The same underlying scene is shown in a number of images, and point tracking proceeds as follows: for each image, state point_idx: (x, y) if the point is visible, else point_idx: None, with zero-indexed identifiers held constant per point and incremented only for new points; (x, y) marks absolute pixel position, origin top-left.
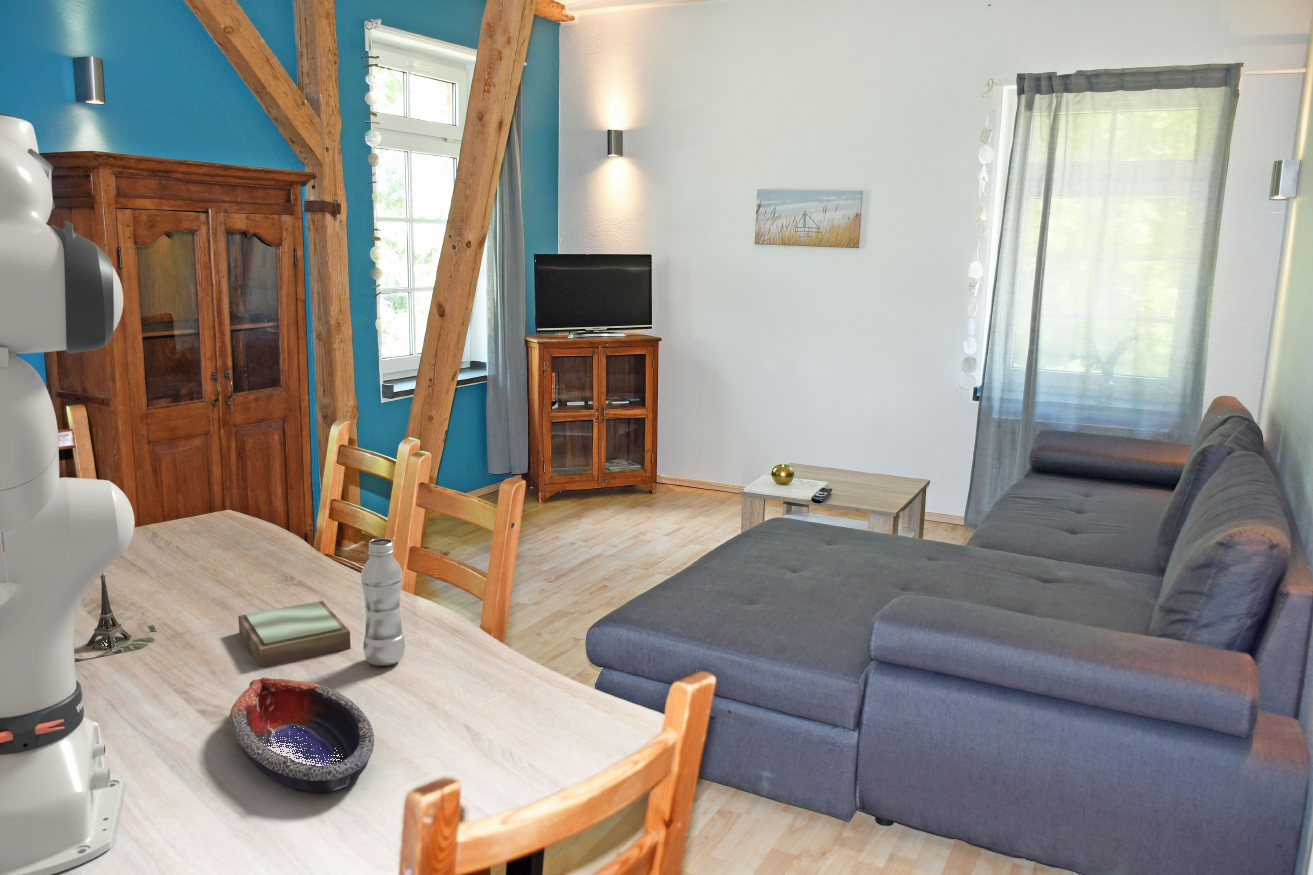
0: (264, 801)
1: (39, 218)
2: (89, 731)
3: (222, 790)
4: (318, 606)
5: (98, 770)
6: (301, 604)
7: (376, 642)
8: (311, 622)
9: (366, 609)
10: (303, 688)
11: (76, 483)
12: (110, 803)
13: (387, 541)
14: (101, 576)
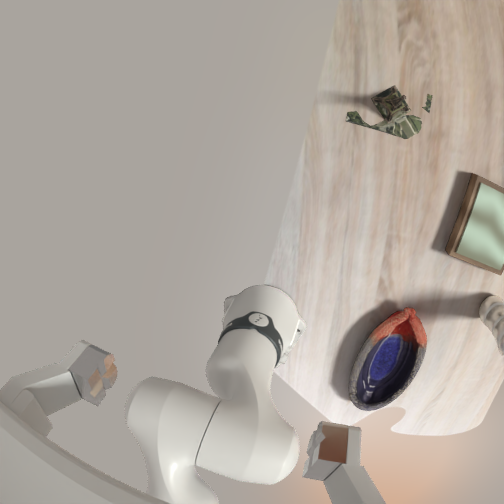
0: (342, 381)
1: None
2: (283, 352)
3: (335, 362)
4: None
5: (280, 361)
6: None
7: (484, 322)
8: (497, 243)
9: (496, 324)
10: (417, 340)
11: (247, 481)
12: (290, 345)
13: None
14: (402, 97)
